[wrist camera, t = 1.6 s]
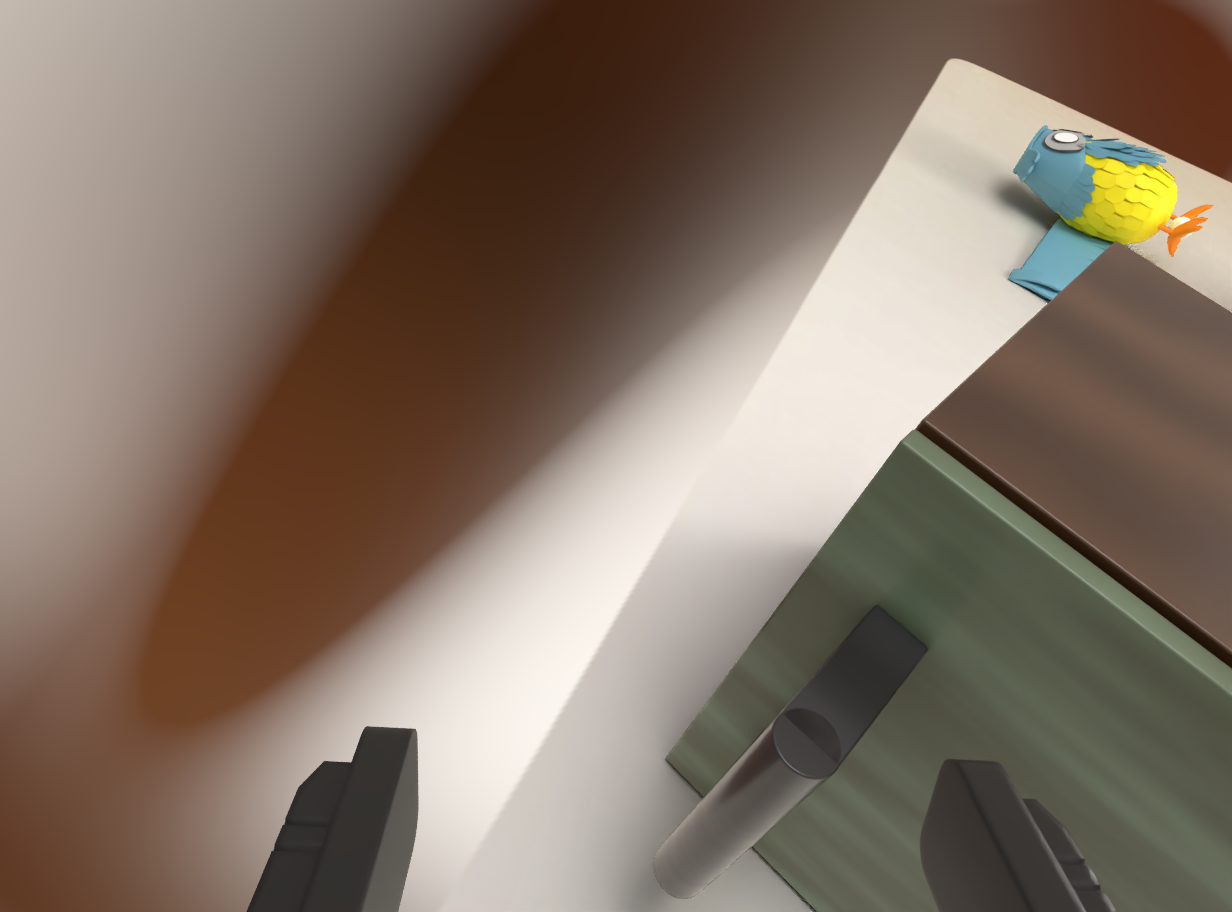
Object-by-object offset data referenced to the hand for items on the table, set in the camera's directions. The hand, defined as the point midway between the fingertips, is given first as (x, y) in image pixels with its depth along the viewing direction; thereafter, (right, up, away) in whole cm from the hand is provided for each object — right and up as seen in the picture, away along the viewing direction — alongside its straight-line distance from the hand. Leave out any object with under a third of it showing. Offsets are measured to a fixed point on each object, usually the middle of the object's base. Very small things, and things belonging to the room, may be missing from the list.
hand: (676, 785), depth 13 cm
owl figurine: (+40, +25, +65) cm, 80 cm away
